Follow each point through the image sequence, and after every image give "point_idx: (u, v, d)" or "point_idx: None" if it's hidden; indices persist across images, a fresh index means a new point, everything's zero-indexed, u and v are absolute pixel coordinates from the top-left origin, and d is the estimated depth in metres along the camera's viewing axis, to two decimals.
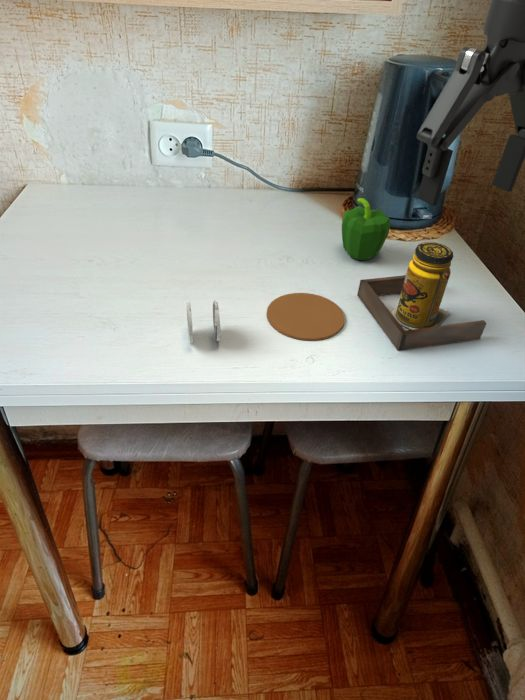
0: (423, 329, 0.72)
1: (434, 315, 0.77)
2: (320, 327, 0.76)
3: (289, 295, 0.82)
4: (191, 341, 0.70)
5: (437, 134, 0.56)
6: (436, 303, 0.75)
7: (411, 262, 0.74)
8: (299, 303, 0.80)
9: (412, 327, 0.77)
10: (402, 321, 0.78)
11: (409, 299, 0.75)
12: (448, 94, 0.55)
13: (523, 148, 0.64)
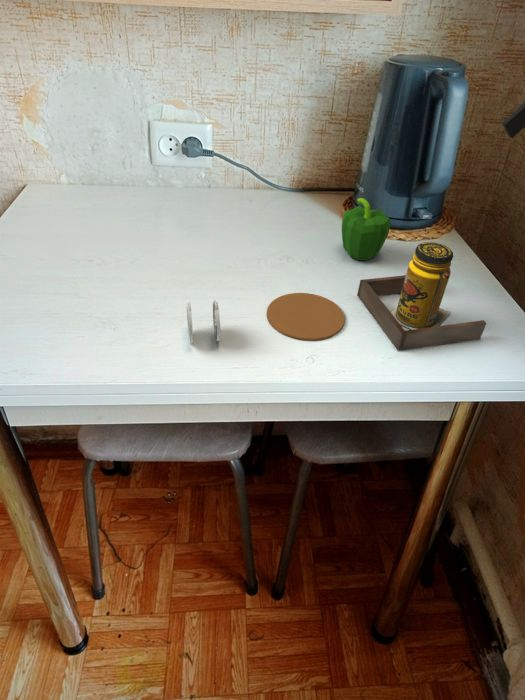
0: (423, 329, 0.72)
1: (434, 315, 0.77)
2: (320, 327, 0.76)
3: (289, 295, 0.82)
4: (191, 341, 0.70)
5: None
6: (436, 303, 0.75)
7: (411, 262, 0.74)
8: (299, 303, 0.80)
9: (412, 327, 0.77)
10: (402, 321, 0.78)
11: (409, 299, 0.75)
12: None
13: None
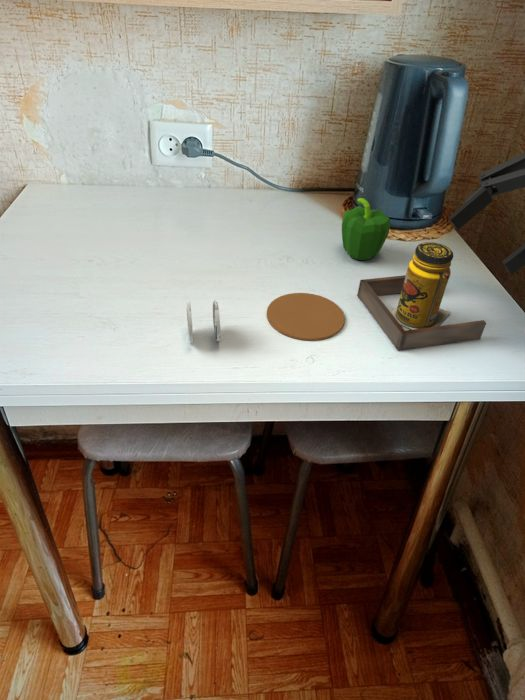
0: (423, 329, 0.72)
1: (434, 315, 0.77)
2: (320, 327, 0.76)
3: (289, 295, 0.82)
4: (191, 341, 0.70)
5: (486, 172, 0.78)
6: (436, 303, 0.75)
7: (411, 262, 0.74)
8: (299, 303, 0.80)
9: (412, 327, 0.77)
10: (402, 321, 0.78)
11: (409, 299, 0.75)
12: None
13: None
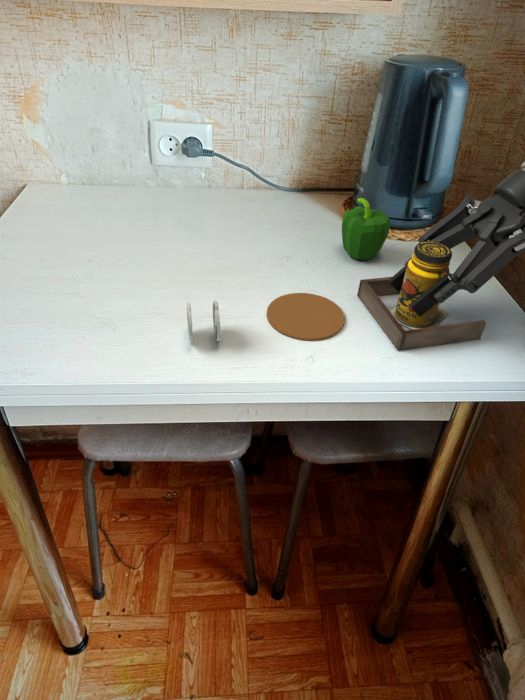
0: (423, 329, 0.72)
1: (433, 314, 0.77)
2: (320, 327, 0.76)
3: (289, 295, 0.82)
4: (191, 341, 0.70)
5: (424, 235, 0.78)
6: None
7: (410, 261, 0.74)
8: (299, 303, 0.80)
9: (411, 326, 0.78)
10: (401, 320, 0.78)
11: (408, 298, 0.75)
12: None
13: (440, 279, 0.72)
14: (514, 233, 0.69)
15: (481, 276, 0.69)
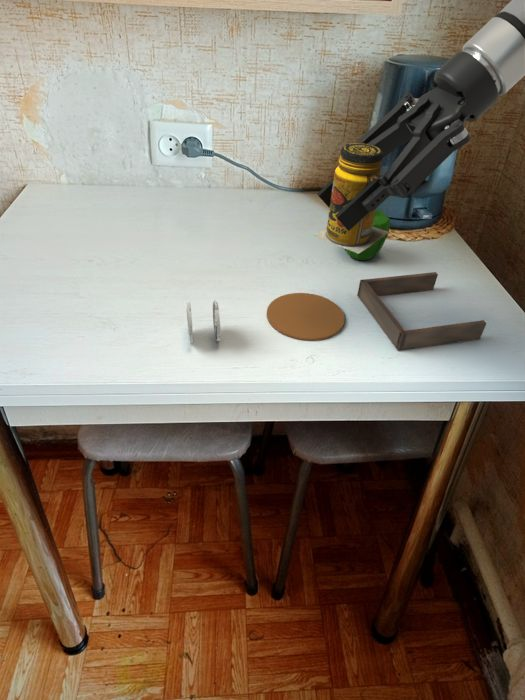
0: (423, 329, 0.72)
1: (366, 230, 0.67)
2: (320, 327, 0.76)
3: (289, 295, 0.82)
4: (191, 341, 0.70)
5: (357, 142, 0.69)
6: (366, 215, 0.65)
7: (338, 166, 0.65)
8: (299, 303, 0.80)
9: (342, 244, 0.68)
10: (331, 239, 0.69)
11: (336, 210, 0.66)
12: None
13: (369, 184, 0.63)
14: (451, 124, 0.59)
15: (413, 175, 0.59)
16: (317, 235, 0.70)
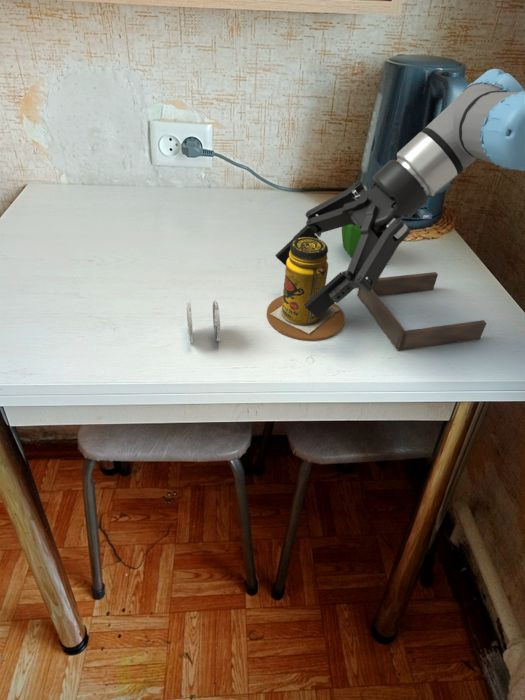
0: (423, 329, 0.72)
1: None
2: (320, 327, 0.76)
3: None
4: (191, 341, 0.70)
5: (311, 210, 0.78)
6: None
7: (289, 257, 0.72)
8: None
9: (294, 324, 0.76)
10: (285, 318, 0.76)
11: (288, 295, 0.74)
12: None
13: (335, 277, 0.67)
14: (390, 223, 0.66)
15: (372, 270, 0.64)
16: (273, 313, 0.77)
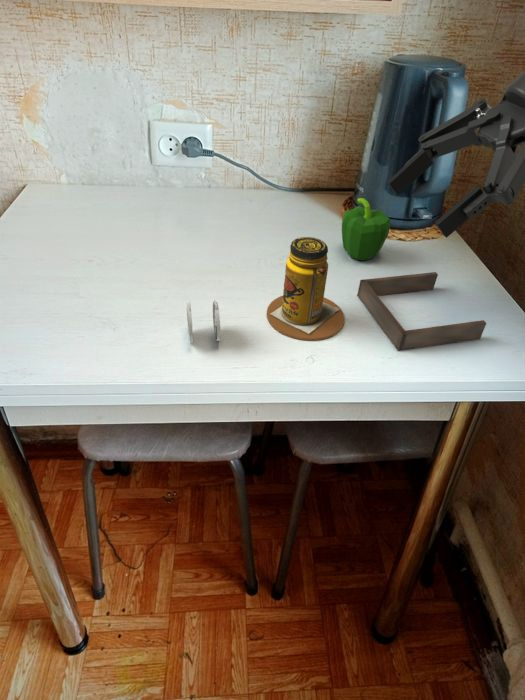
0: (423, 329, 0.72)
1: (315, 312, 0.75)
2: (320, 327, 0.76)
3: None
4: (191, 341, 0.70)
5: (425, 134, 0.74)
6: (315, 300, 0.73)
7: (289, 257, 0.72)
8: None
9: (294, 324, 0.76)
10: (285, 318, 0.76)
11: (288, 295, 0.74)
12: None
13: (471, 192, 0.64)
14: None
15: (516, 181, 0.61)
16: (273, 313, 0.77)
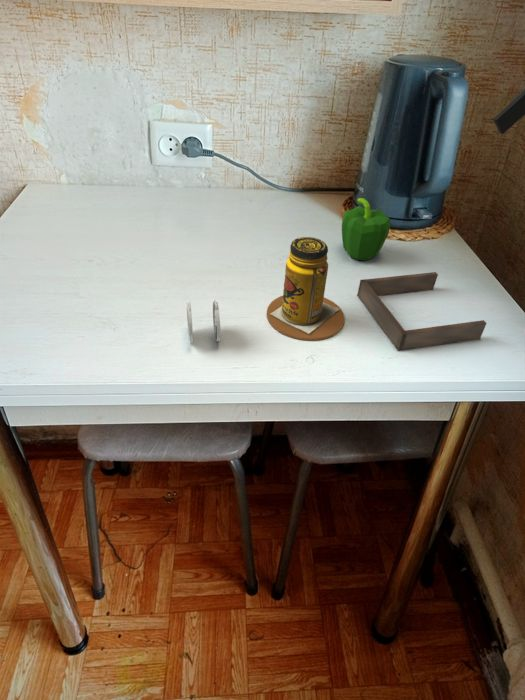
0: (423, 329, 0.72)
1: (315, 312, 0.75)
2: (320, 327, 0.76)
3: None
4: (191, 341, 0.70)
5: None
6: (315, 300, 0.73)
7: (289, 257, 0.72)
8: None
9: (294, 324, 0.76)
10: (285, 318, 0.76)
11: (288, 295, 0.74)
12: None
13: None
14: None
15: None
16: (273, 313, 0.77)
